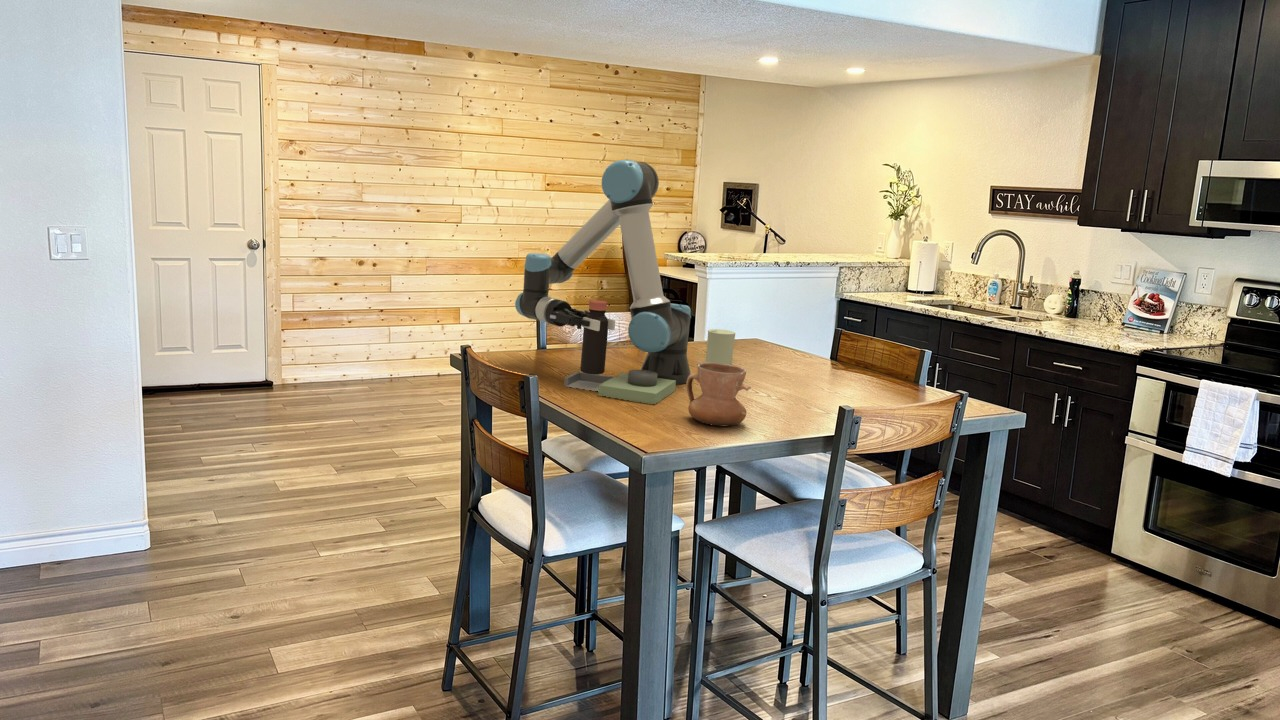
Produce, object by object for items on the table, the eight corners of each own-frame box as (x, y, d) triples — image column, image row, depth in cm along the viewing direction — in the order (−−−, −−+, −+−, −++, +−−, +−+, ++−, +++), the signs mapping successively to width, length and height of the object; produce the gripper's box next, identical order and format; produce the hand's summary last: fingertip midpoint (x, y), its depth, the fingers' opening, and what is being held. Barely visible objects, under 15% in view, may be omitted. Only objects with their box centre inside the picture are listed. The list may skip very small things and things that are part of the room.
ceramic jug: (759, 425, 232) (766, 370, 230) (729, 434, 221) (735, 376, 218) (700, 410, 243) (705, 357, 240) (668, 418, 231) (673, 363, 229)
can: (700, 362, 310) (703, 327, 308) (725, 363, 313) (729, 328, 311) (710, 368, 301) (714, 332, 299) (736, 368, 304) (740, 333, 302)
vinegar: (603, 375, 256) (609, 304, 252) (579, 373, 256) (585, 302, 252) (604, 370, 262) (610, 300, 258) (581, 368, 262) (586, 298, 258)
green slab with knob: (583, 377, 271) (584, 357, 270) (675, 390, 263) (676, 370, 262) (557, 389, 252) (558, 368, 251) (655, 404, 245) (657, 382, 243)
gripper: (577, 323, 275) (629, 337, 259) (528, 325, 263) (579, 340, 247) (579, 298, 274) (631, 311, 257) (530, 299, 262) (582, 313, 245)
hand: (606, 325), depth 252 cm, fingers open, 5 cm apart
